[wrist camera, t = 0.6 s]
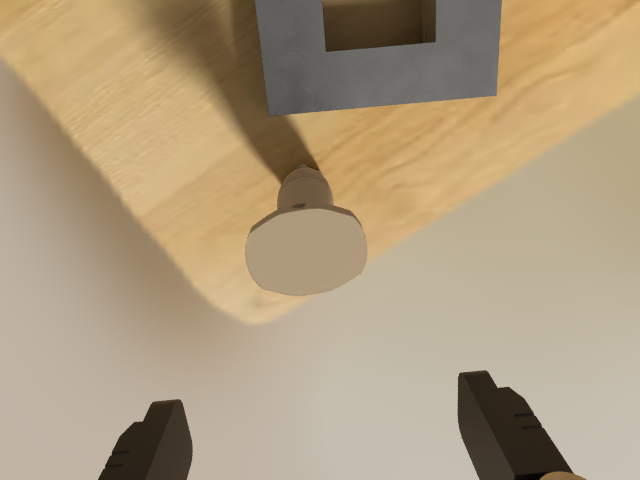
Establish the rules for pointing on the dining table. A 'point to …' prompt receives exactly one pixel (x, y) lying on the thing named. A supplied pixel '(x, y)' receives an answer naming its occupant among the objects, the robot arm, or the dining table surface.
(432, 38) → the block
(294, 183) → the handle
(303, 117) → the dining table surface
